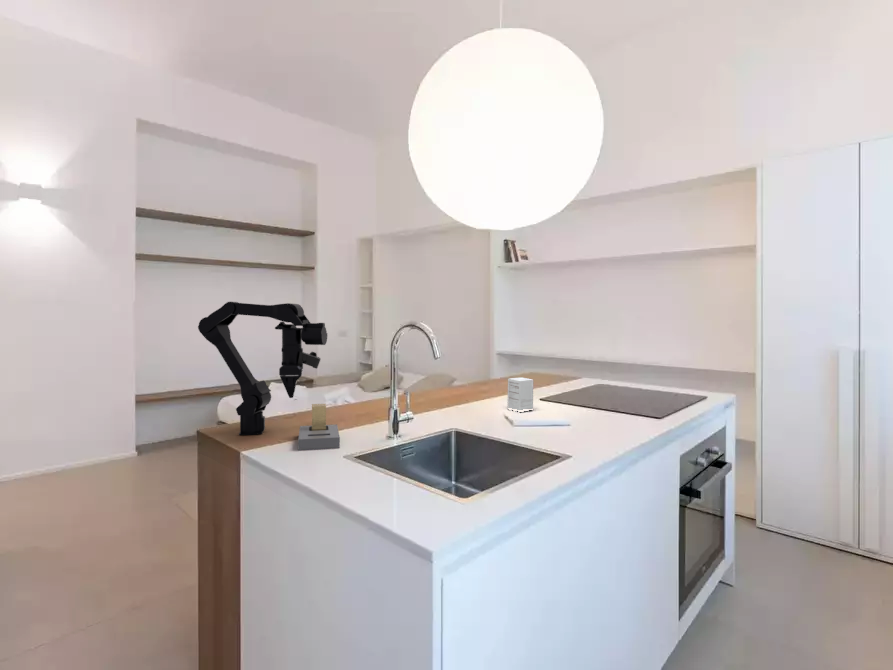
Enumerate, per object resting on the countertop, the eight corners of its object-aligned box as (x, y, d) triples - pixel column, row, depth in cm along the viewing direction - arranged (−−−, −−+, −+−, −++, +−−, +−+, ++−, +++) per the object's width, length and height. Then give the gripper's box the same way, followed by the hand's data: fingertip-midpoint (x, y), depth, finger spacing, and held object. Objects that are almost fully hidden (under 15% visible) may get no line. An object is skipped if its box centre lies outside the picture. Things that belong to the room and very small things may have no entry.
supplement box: (520, 408, 196) (521, 377, 196) (533, 411, 190) (534, 379, 189) (506, 409, 192) (507, 378, 192) (519, 413, 186) (519, 380, 185)
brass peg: (311, 440, 142) (311, 406, 142) (311, 437, 146) (311, 404, 146) (325, 439, 143) (326, 406, 143) (325, 436, 147) (325, 403, 147)
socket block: (298, 450, 132) (298, 439, 132) (299, 435, 147) (299, 426, 147) (339, 448, 135) (339, 437, 134) (337, 433, 150) (337, 424, 150)
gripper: (319, 346, 141) (319, 399, 142) (318, 342, 159) (318, 389, 160) (279, 346, 138) (279, 400, 139) (283, 342, 156) (283, 390, 157)
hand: (291, 395), depth 149 cm, fingers open, 9 cm apart
